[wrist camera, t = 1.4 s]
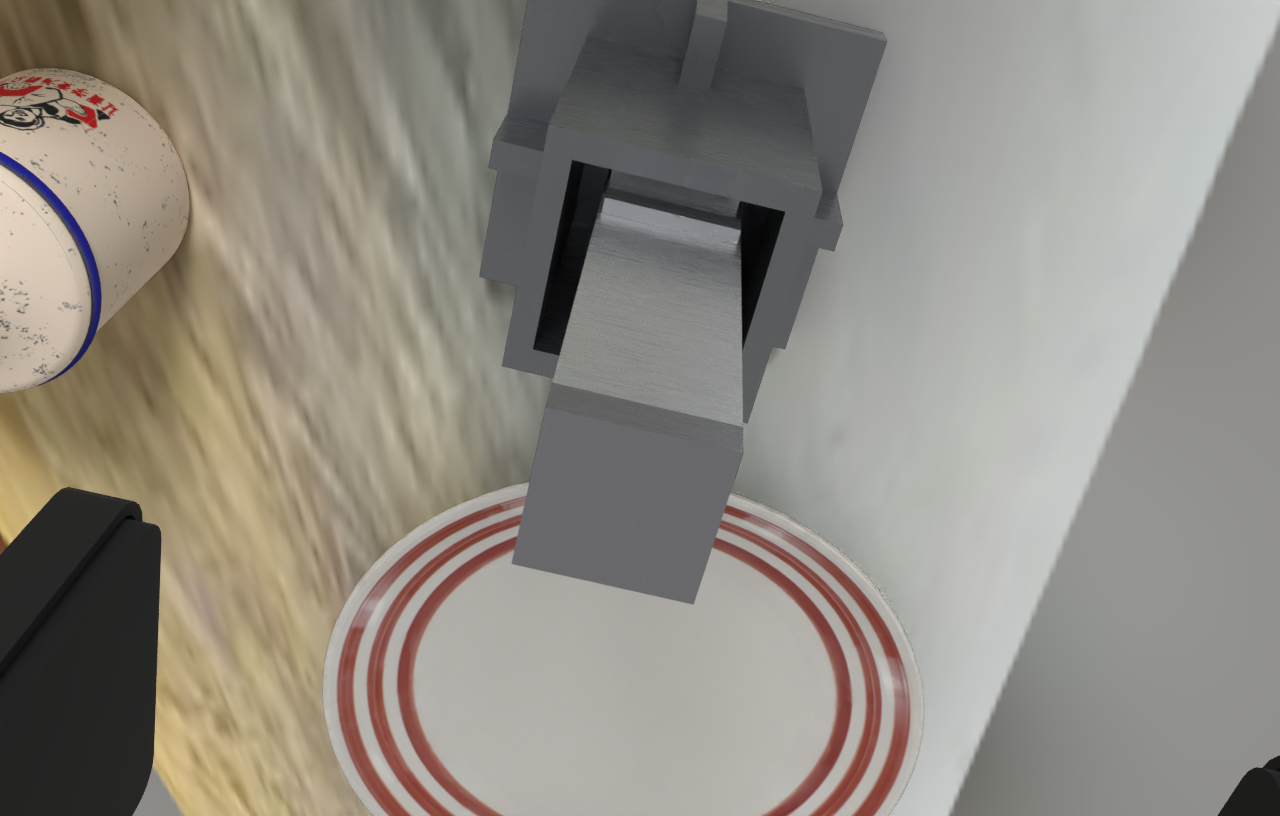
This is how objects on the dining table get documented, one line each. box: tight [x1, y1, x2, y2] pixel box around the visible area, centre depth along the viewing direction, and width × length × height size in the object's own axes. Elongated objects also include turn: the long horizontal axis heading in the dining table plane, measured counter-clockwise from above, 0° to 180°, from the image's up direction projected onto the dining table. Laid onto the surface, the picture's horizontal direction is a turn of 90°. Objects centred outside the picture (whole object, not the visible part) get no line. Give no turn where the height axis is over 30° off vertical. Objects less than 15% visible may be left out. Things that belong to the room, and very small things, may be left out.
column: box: [511, 169, 743, 605], centre depth 34 cm, size 5×4×21 cm
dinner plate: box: [322, 482, 924, 816], centre depth 56 cm, size 27×27×3 cm
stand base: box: [479, 0, 887, 423], centre depth 39 cm, size 12×12×11 cm
